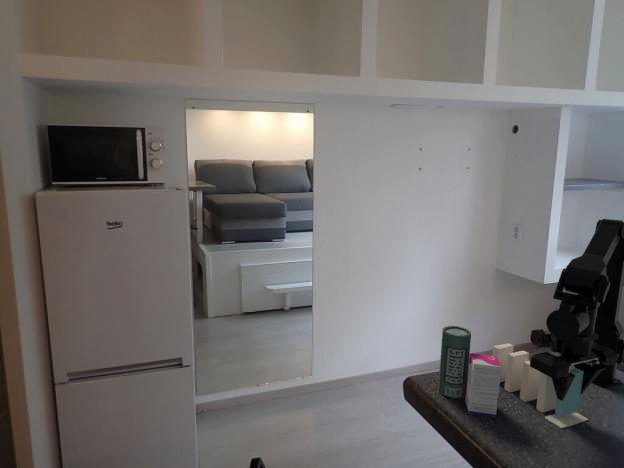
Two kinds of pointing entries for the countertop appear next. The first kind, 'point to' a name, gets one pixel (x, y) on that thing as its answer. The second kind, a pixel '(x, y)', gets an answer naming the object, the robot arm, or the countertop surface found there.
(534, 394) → the domino
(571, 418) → the pad
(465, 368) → the can
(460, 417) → the countertop surface
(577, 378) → the end domino
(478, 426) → the countertop surface
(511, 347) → the domino
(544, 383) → the domino
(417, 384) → the countertop surface
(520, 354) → the domino
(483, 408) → the supplement box
